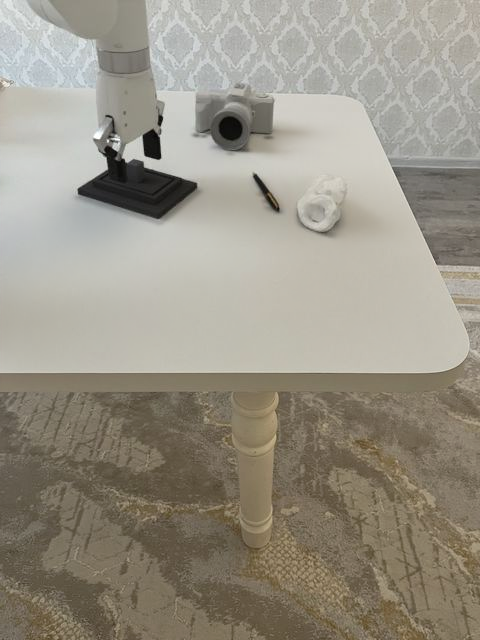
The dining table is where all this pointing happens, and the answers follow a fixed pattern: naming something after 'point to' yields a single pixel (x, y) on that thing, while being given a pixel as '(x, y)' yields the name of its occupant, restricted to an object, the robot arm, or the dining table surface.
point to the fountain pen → (266, 192)
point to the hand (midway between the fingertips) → (136, 168)
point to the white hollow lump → (322, 203)
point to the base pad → (139, 194)
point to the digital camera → (233, 114)
